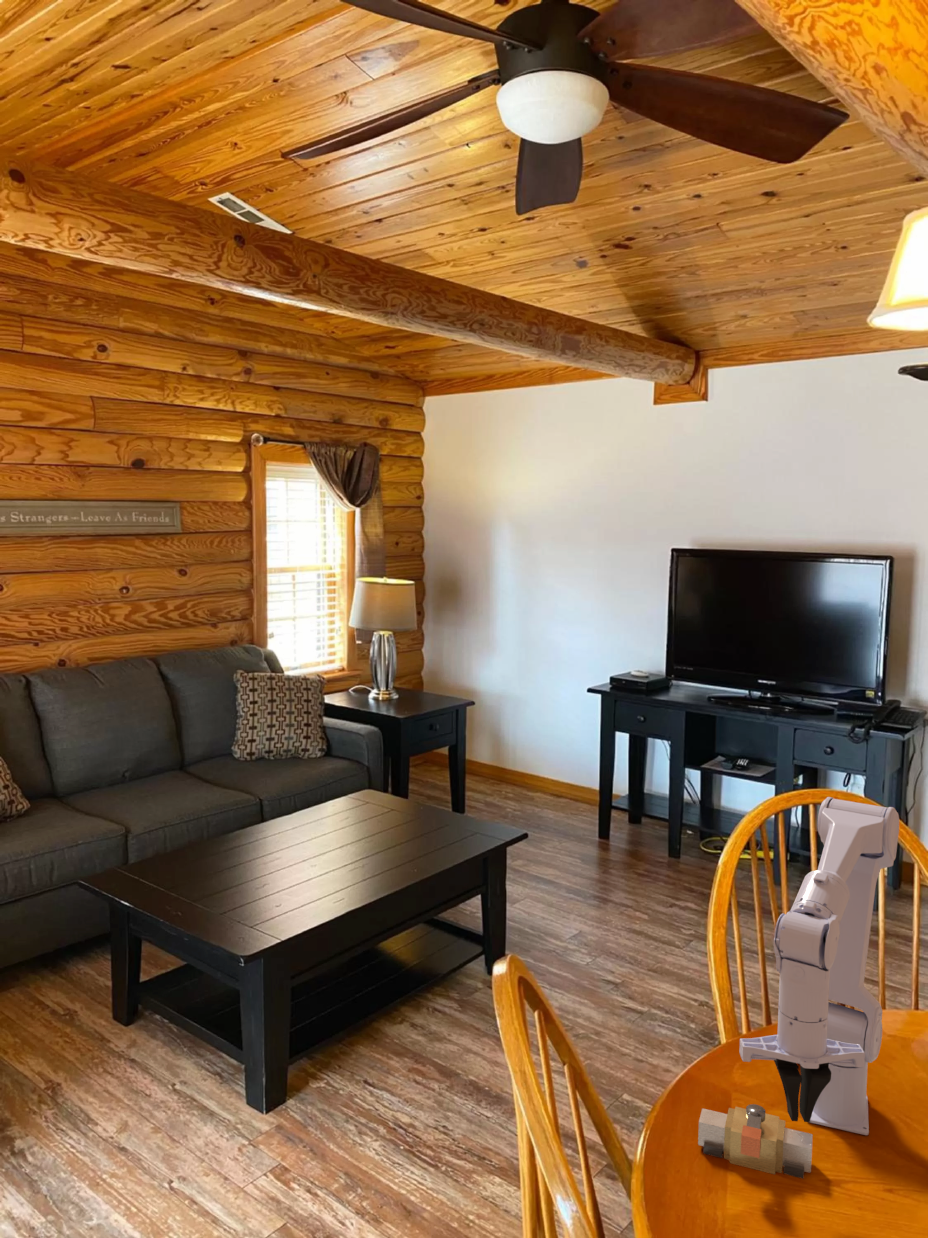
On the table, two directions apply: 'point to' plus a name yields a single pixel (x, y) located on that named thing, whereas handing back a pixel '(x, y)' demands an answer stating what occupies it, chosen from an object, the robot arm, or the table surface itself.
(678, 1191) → the table surface
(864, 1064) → the robot arm
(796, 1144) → the valve
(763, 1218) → the table surface
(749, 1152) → the lever
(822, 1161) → the table surface
